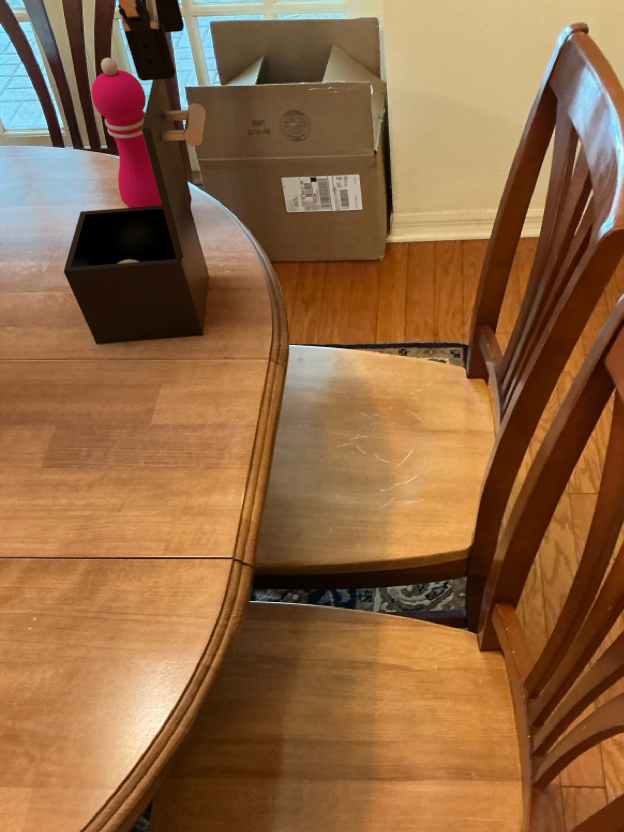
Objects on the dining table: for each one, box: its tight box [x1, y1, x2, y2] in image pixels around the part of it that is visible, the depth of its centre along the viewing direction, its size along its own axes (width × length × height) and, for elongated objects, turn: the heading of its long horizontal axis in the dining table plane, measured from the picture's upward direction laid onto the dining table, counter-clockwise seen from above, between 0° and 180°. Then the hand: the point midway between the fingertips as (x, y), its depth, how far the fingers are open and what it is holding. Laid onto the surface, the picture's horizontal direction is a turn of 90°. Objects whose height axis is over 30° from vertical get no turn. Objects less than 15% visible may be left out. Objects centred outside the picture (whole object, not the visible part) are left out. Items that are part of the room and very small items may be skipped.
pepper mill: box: [91, 57, 162, 208], centre depth 95 cm, size 7×7×20 cm
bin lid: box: [142, 79, 207, 258], centre depth 79 cm, size 13×11×5 cm
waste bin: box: [63, 205, 210, 345], centre depth 88 cm, size 12×11×10 cm
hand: (162, 53), depth 70 cm, fingers open, 9 cm apart
